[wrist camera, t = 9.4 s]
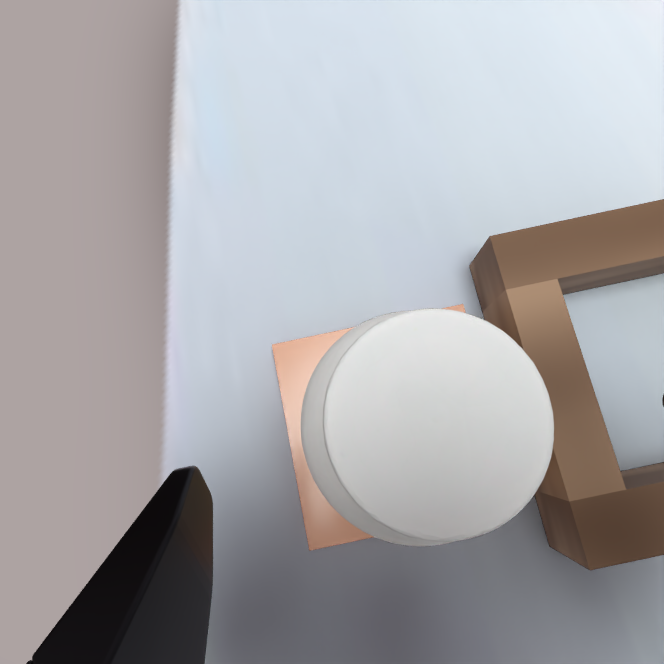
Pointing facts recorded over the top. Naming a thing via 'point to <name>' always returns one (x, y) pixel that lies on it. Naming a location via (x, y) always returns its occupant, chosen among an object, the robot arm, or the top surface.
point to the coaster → (293, 377)
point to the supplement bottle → (427, 427)
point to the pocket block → (578, 374)
